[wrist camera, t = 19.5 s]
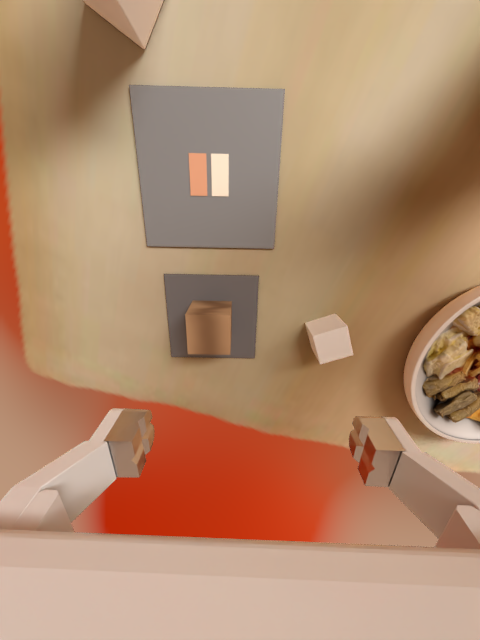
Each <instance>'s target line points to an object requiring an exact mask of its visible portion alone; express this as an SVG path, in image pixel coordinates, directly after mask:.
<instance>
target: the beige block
mask: <svg viewBox="0 0 480 640" xmlns="http://www.w3.org/2000/svg"><path fill="white" fill-rule="evenodd" d="M305 326H306V329H307V333H308V337H309V341H310V344H311V348H312V350H313V352H314V354H315V356H316V358H317V360H318V361H319V363H320V364H324V363H327V362H331V361H334V360H338V359H341V358H345V357H348V356H352V355H353V351H352V346H351V341H350V336H349V331H348V326H347V325H346V324H345V323H344V322H343V321H342V320H341V318H340V317H339V316H338V315H337V314H336V313H335V314H332V315H328V316H325V317H322V318H319V319H315V320H312V321H309V322H306V323H305Z"/></svg>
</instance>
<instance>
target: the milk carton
mask: <svg viewBox="0 0 480 640" xmlns="http://www.w3.org/2000/svg"><path fill="white" fill-rule="evenodd" d="M83 1H84V2H85V3H86V4H87V5H88V6H89V7H90V8H92V9H93V10H94V11H95V12H97V13H98V14H99V15H101V16H102V17H103V18H104V19H106V20H107V21H108V22H109V23H111V24H112V25H113V26H115V27H116V28H117V29H118V30H120V31H121V32H122V33H123V34H125V35H126V36H127V37H129V38H130V39H131V40H132V41H134V42H135V43H136V44H137V45H139V46H140V47H141V48H143V49H145V48H146V45H147V42H148V40H149V37H150V35H151V32H152V30H153V27H154V24H155V22H156V19H157V17H158V14H159V11H160V9H161V6H162V4H163V1H164V0H83Z"/></svg>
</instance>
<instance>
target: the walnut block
mask: <svg viewBox="0 0 480 640" xmlns="http://www.w3.org/2000/svg"><path fill="white" fill-rule="evenodd" d="M185 318H186V334H187V349H188V354H207V355H230V353H231V336H232V301H195V300H193V301H192V303H191V305H190V307H189V308H188V310H187V312H186V314H185Z"/></svg>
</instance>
